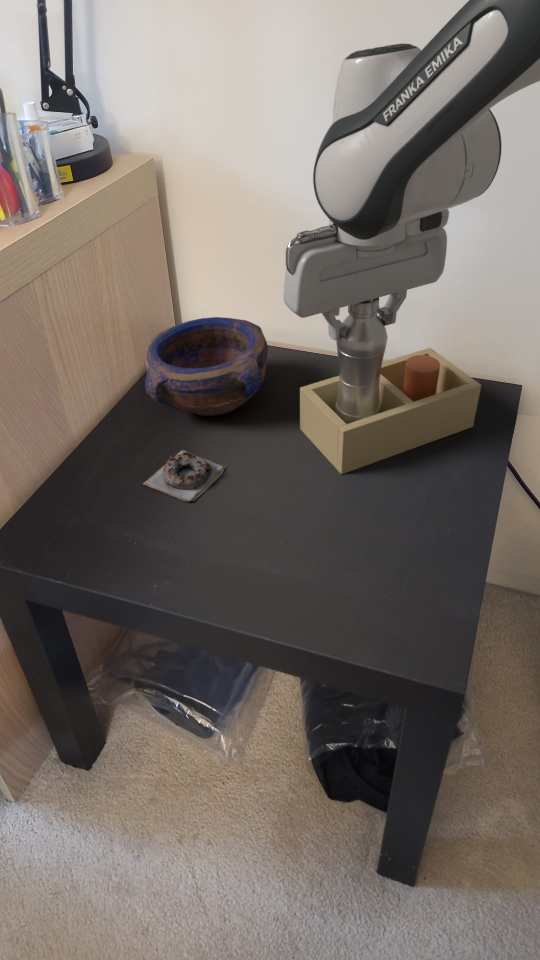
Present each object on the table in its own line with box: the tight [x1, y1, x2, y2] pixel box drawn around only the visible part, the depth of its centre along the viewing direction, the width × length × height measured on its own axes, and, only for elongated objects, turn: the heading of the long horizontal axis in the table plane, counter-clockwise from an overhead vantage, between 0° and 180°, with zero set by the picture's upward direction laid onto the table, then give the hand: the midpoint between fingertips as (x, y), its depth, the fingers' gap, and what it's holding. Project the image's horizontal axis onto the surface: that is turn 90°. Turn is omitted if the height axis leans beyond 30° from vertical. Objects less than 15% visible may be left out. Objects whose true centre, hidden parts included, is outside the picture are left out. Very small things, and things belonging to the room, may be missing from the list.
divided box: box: [299, 347, 482, 475], centre depth 95 cm, size 11×22×7 cm, turn 117°
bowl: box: [143, 316, 269, 417], centre depth 100 cm, size 18×18×10 cm
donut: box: [142, 449, 226, 503], centre depth 89 cm, size 8×8×2 cm
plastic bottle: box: [334, 297, 388, 424], centre depth 88 cm, size 6×7×20 cm
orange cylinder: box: [403, 355, 440, 402], centre depth 95 cm, size 5×5×8 cm
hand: (362, 329), depth 84 cm, fingers closed on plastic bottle, 6 cm apart
